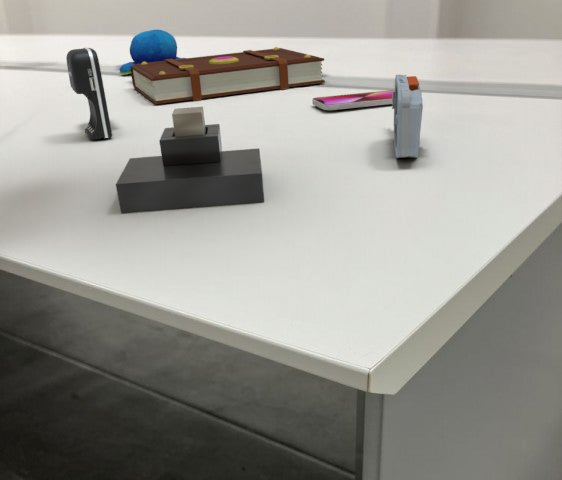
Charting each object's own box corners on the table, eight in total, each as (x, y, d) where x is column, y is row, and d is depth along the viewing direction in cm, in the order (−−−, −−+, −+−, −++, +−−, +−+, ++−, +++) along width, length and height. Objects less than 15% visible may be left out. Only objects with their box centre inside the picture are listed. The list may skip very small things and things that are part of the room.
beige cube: (175, 140, 69) (171, 114, 68) (177, 134, 72) (174, 108, 71) (204, 138, 69) (201, 111, 68) (205, 131, 72) (203, 106, 71)
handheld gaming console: (391, 138, 86) (392, 69, 82) (414, 137, 85) (417, 68, 81) (394, 169, 74) (396, 90, 69) (422, 168, 73) (425, 89, 69)
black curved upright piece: (79, 134, 100) (61, 48, 94) (105, 130, 101) (89, 45, 95) (86, 143, 94) (67, 52, 88) (113, 139, 95) (97, 49, 90)
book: (325, 84, 124) (324, 54, 122) (155, 105, 116) (151, 74, 114) (282, 70, 143) (280, 44, 140) (133, 88, 135) (128, 60, 132)
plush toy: (120, 79, 146) (113, 36, 142) (119, 70, 161) (112, 30, 156) (198, 72, 149) (193, 29, 145) (189, 63, 163) (184, 24, 159)
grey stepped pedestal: (121, 213, 66) (110, 156, 63) (135, 182, 76) (126, 130, 73) (264, 202, 66) (259, 144, 64) (261, 172, 76) (257, 120, 73)
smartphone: (418, 96, 104) (325, 105, 101) (418, 102, 104) (325, 112, 101) (399, 89, 110) (310, 98, 107) (398, 95, 110) (310, 104, 107)
